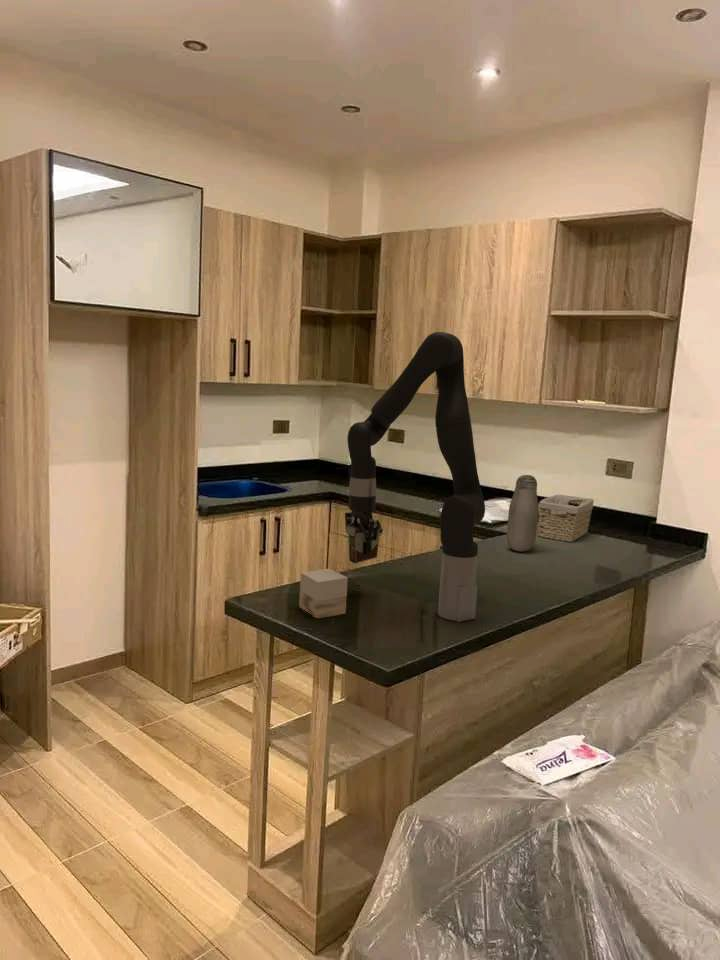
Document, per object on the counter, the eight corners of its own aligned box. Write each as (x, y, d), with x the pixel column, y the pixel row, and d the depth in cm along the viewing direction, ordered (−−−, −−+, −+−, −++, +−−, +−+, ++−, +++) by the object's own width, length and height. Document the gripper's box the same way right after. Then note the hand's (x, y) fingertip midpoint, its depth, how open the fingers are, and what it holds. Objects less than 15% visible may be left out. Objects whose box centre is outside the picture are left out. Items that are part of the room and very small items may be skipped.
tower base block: (345, 614, 194) (346, 596, 193) (316, 619, 189) (316, 601, 188) (327, 603, 201) (328, 586, 200) (299, 608, 196) (299, 590, 195)
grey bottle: (523, 555, 261) (530, 478, 256) (500, 549, 268) (506, 474, 264) (539, 552, 267) (547, 476, 263) (516, 545, 275) (523, 472, 270)
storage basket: (553, 527, 310) (556, 492, 308) (591, 533, 302) (595, 498, 300) (534, 537, 290) (537, 500, 288) (574, 544, 282) (578, 507, 280)
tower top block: (346, 596, 193) (347, 577, 192) (317, 600, 188) (318, 582, 187) (328, 586, 200) (329, 568, 200) (300, 590, 195) (300, 572, 195)
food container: (363, 552, 215) (365, 518, 213) (380, 556, 211) (381, 522, 209) (335, 559, 205) (337, 525, 204) (352, 564, 201) (353, 528, 200)
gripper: (388, 496, 201) (386, 556, 204) (358, 488, 213) (357, 545, 215) (366, 498, 197) (364, 559, 199) (337, 490, 208) (335, 548, 211)
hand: (360, 551), depth 207 cm, fingers closed on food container, 5 cm apart
